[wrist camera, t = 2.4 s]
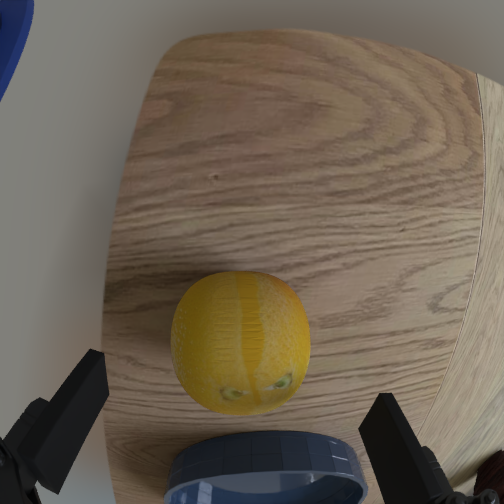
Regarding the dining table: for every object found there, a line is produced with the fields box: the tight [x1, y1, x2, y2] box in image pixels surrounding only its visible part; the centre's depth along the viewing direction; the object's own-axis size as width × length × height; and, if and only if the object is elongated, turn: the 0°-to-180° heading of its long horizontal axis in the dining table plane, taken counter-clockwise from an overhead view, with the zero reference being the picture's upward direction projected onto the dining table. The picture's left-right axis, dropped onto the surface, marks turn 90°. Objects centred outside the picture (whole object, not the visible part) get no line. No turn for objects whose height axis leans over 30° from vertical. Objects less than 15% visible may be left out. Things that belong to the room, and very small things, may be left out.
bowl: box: [164, 431, 368, 504], centre depth 25 cm, size 23×23×5 cm
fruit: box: [171, 271, 310, 415], centre depth 16 cm, size 9×8×8 cm
